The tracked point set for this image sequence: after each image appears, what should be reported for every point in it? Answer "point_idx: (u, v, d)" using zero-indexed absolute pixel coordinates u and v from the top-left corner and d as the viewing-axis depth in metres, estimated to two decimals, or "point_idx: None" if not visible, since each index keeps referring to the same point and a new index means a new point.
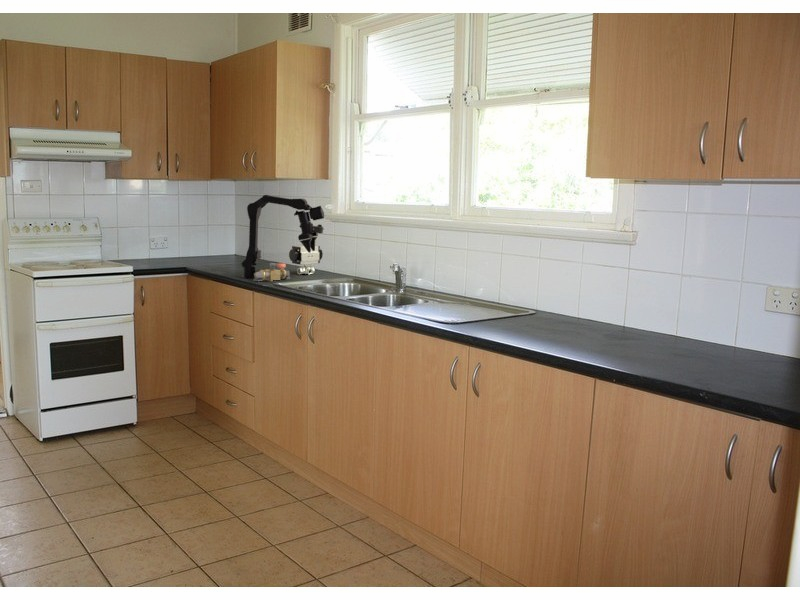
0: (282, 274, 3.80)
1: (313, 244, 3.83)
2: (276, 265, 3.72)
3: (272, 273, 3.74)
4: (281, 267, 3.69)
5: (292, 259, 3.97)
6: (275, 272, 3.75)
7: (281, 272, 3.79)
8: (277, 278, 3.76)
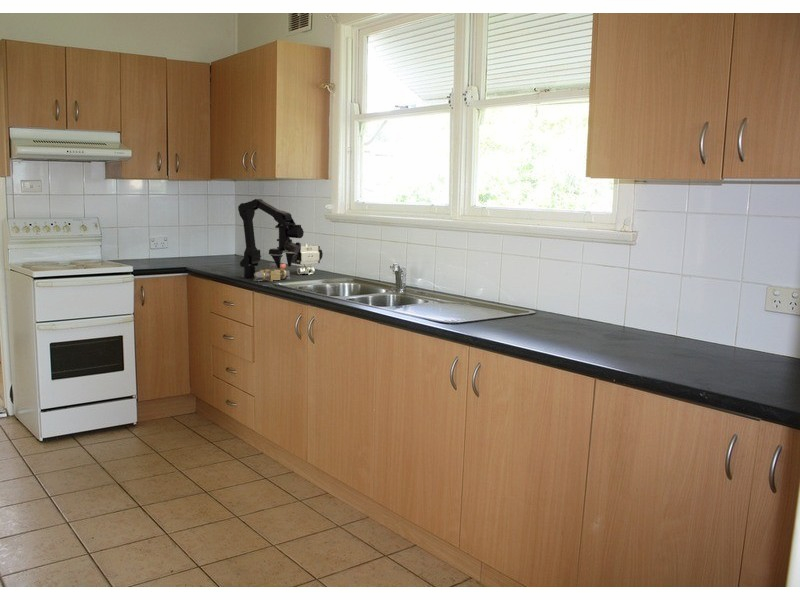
0: (282, 274, 3.80)
1: (290, 260, 3.76)
2: (276, 265, 3.72)
3: (272, 273, 3.74)
4: (281, 267, 3.69)
5: None
6: (275, 272, 3.75)
7: (281, 272, 3.79)
8: (277, 278, 3.76)
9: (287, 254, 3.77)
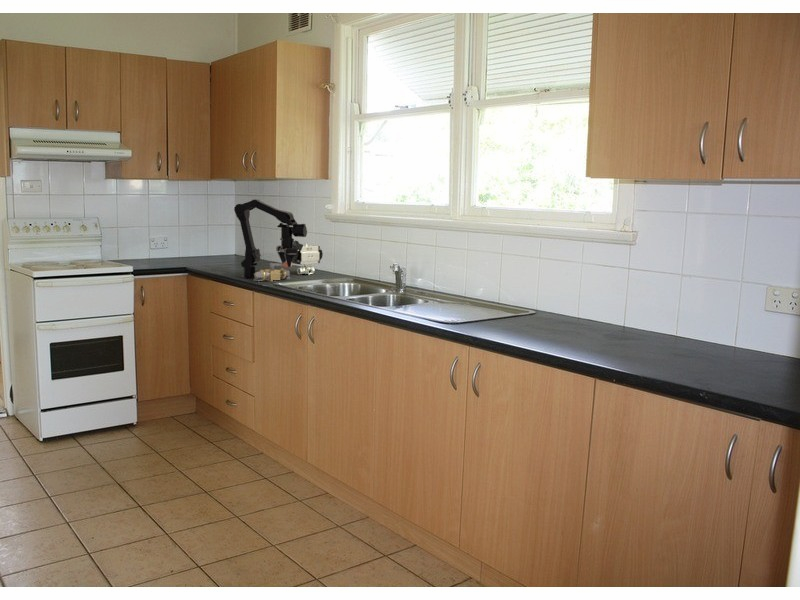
0: (282, 274, 3.80)
1: (285, 258, 3.84)
2: (281, 264, 3.76)
3: (272, 273, 3.74)
4: (291, 265, 3.77)
5: None
6: (275, 272, 3.75)
7: (281, 272, 3.79)
8: (277, 278, 3.76)
9: (280, 253, 3.83)
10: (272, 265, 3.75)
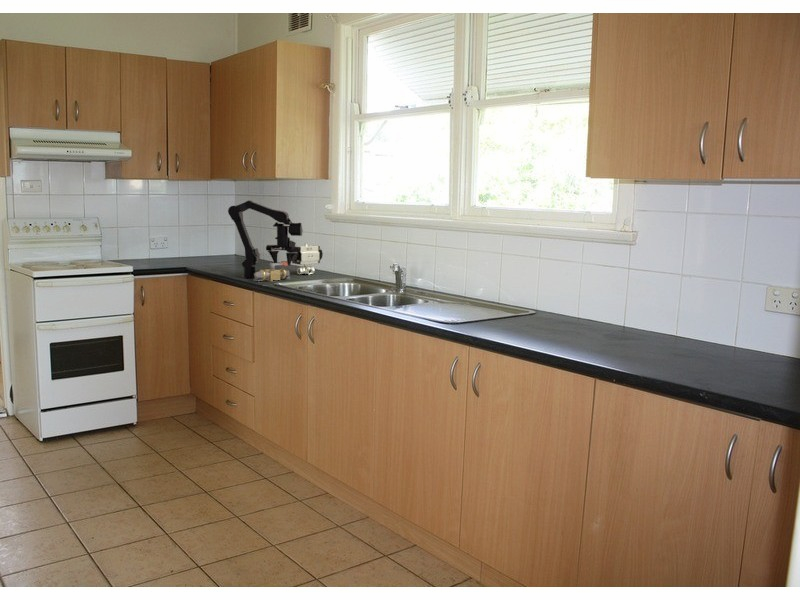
0: (282, 274, 3.80)
1: (276, 257, 3.86)
2: (281, 264, 3.79)
3: (272, 273, 3.74)
4: None
5: (292, 259, 3.97)
6: (275, 272, 3.75)
7: (281, 272, 3.79)
8: (277, 278, 3.76)
9: (273, 252, 3.84)
10: (273, 265, 3.76)
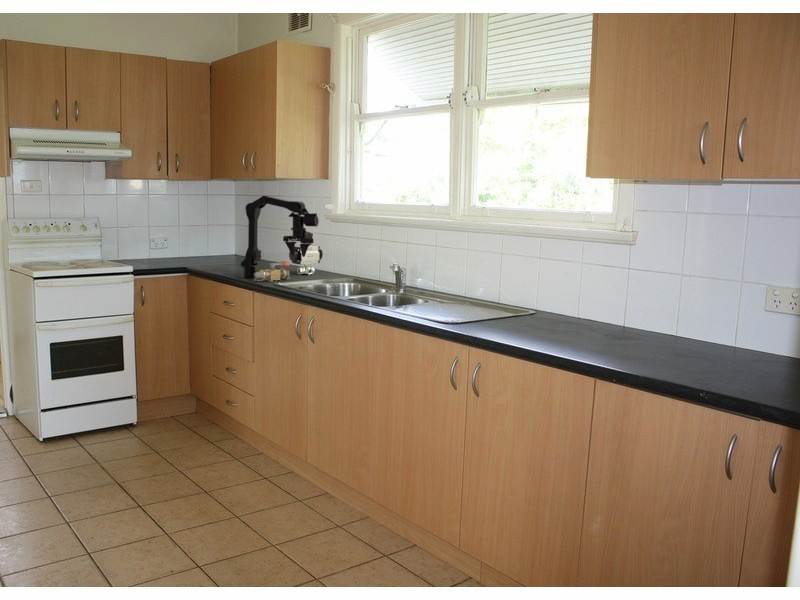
0: (282, 274, 3.80)
1: (293, 248, 3.80)
2: (281, 264, 3.79)
3: (272, 273, 3.74)
4: None
5: (292, 259, 3.97)
6: (275, 272, 3.75)
7: (281, 272, 3.79)
8: (277, 278, 3.76)
9: (289, 243, 3.78)
10: (273, 265, 3.76)
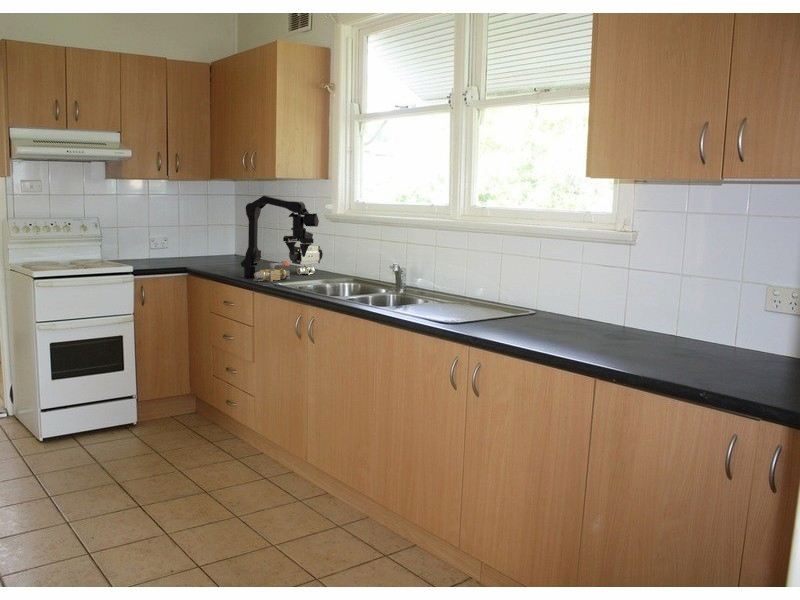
0: (282, 274, 3.80)
1: (293, 248, 3.80)
2: (281, 264, 3.79)
3: (272, 273, 3.74)
4: None
5: (292, 259, 3.97)
6: (275, 272, 3.75)
7: (281, 272, 3.79)
8: (277, 278, 3.76)
9: (289, 243, 3.78)
10: (273, 265, 3.76)
